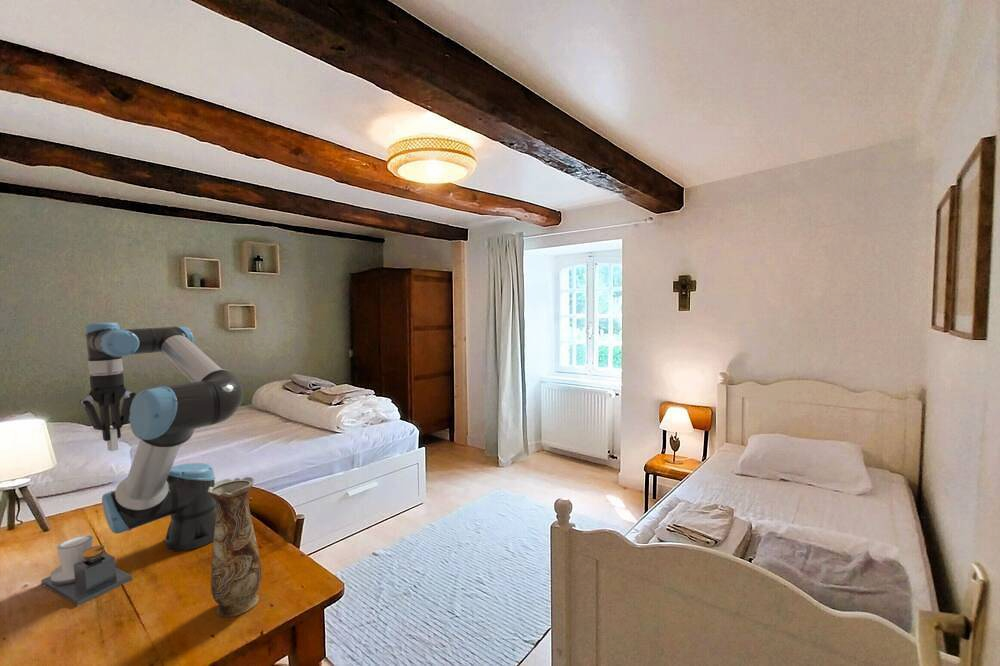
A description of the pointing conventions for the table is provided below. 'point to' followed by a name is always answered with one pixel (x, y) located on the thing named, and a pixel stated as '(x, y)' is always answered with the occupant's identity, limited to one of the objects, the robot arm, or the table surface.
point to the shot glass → (73, 551)
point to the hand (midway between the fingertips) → (113, 449)
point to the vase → (234, 549)
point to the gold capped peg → (93, 554)
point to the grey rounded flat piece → (61, 577)
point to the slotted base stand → (90, 580)
